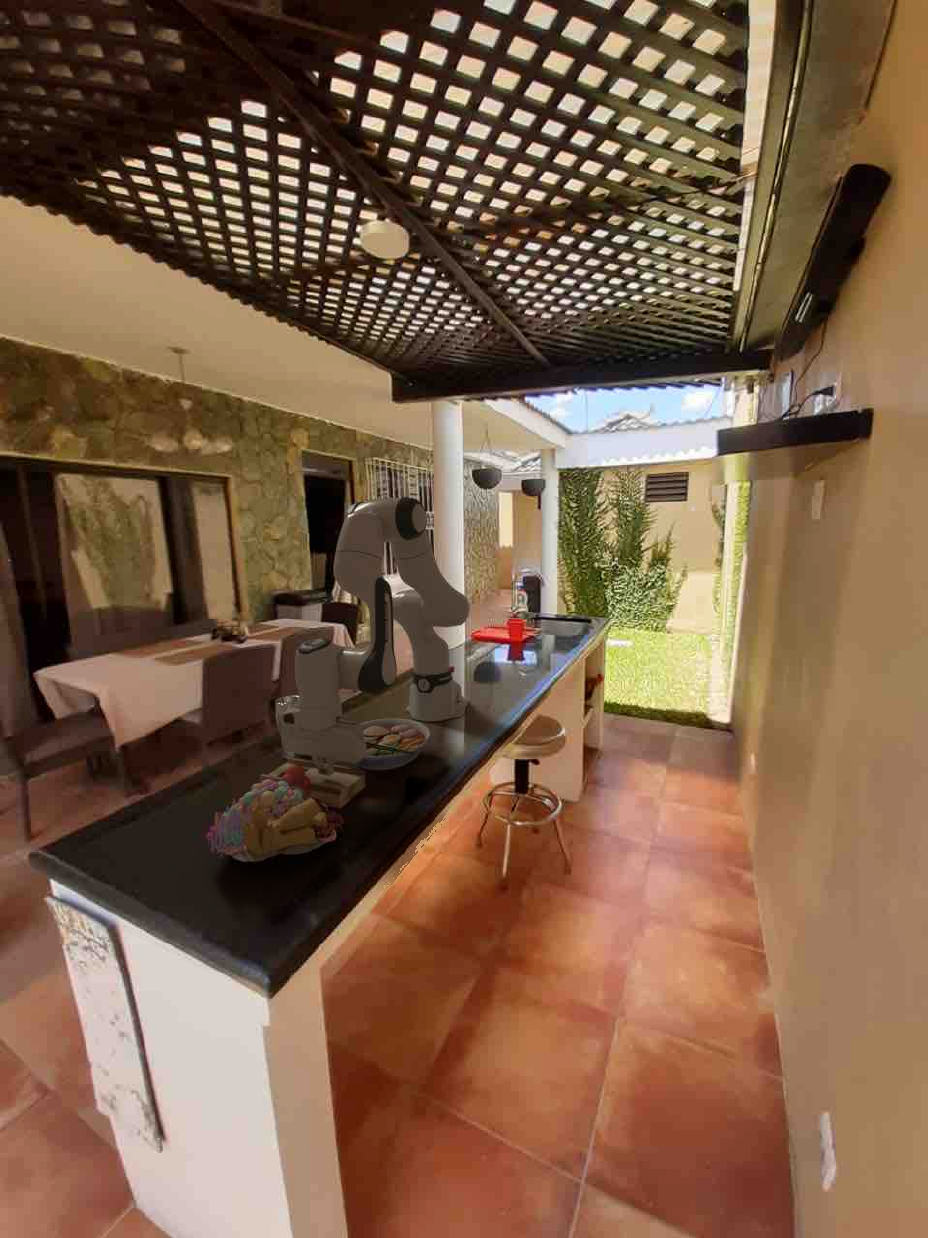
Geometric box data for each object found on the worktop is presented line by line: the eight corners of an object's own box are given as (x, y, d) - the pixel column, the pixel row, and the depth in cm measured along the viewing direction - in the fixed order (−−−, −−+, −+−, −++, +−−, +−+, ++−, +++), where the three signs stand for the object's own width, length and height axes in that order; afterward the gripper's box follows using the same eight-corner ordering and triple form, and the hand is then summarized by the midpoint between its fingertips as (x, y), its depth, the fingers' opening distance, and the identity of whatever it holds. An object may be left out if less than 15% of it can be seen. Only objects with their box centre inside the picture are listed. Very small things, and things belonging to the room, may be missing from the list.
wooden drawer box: (290, 772, 118) (289, 756, 117) (365, 786, 110) (364, 769, 109) (261, 792, 109) (259, 775, 108) (340, 808, 101) (338, 791, 101)
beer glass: (286, 763, 122) (280, 706, 120) (275, 754, 128) (270, 699, 125) (312, 754, 127) (307, 699, 124) (301, 746, 132) (296, 693, 129)
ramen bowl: (451, 752, 126) (450, 722, 124) (404, 796, 105) (402, 761, 104) (371, 738, 136) (369, 710, 135) (314, 775, 116) (311, 743, 114)
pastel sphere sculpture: (365, 838, 91) (369, 790, 90) (233, 882, 74) (237, 823, 74) (303, 792, 108) (306, 751, 108) (185, 820, 92) (188, 772, 92)
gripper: (370, 714, 104) (374, 774, 106) (293, 704, 112) (299, 760, 114) (352, 725, 98) (357, 789, 101) (273, 714, 106) (280, 773, 108)
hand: (326, 774), depth 107 cm, fingers closed
